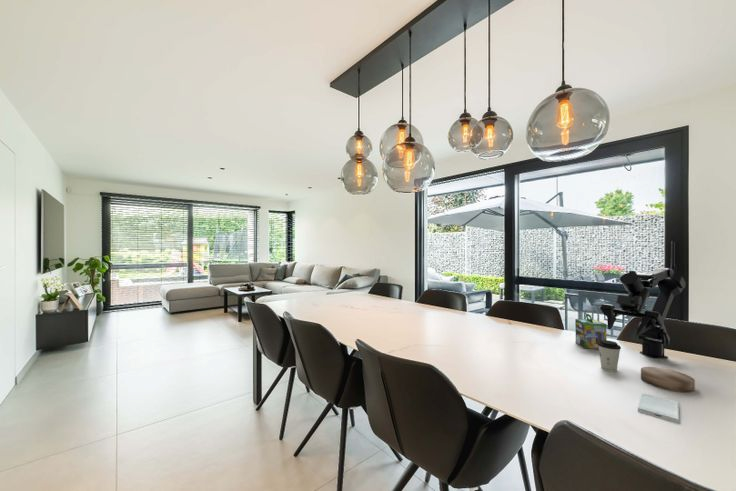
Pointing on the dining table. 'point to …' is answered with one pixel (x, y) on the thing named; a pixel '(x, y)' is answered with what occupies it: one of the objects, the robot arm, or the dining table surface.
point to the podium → (667, 379)
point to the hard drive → (659, 407)
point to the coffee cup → (609, 354)
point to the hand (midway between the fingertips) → (622, 332)
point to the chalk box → (589, 332)
